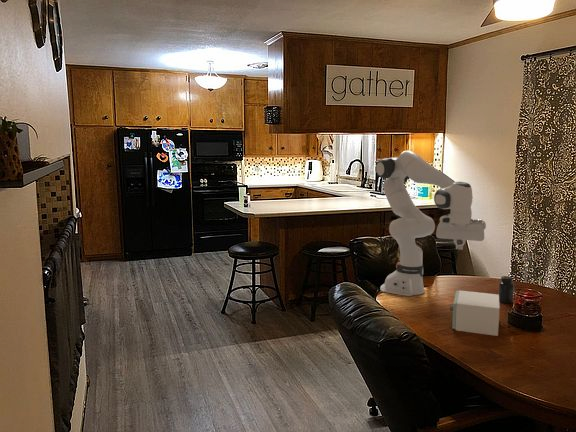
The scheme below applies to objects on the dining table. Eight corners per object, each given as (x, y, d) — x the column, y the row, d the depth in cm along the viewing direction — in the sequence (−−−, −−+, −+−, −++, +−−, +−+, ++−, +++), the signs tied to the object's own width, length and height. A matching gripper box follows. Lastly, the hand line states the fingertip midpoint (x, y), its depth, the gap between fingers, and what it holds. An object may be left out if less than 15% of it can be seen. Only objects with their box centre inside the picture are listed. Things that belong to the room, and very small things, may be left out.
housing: (455, 330, 194) (456, 303, 192) (458, 315, 210) (459, 290, 208) (497, 336, 187) (499, 308, 186) (497, 319, 204) (498, 294, 202)
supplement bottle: (510, 299, 230) (511, 275, 228) (515, 303, 223) (517, 279, 221) (495, 298, 230) (497, 275, 228) (500, 303, 224) (502, 279, 222)
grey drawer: (448, 328, 195) (449, 303, 193) (451, 313, 211) (452, 290, 209) (489, 333, 189) (491, 308, 187) (489, 317, 205) (491, 294, 203)
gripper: (486, 218, 207) (484, 249, 209) (437, 216, 215) (436, 246, 217) (486, 221, 201) (484, 252, 203) (436, 218, 209) (435, 249, 211)
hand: (459, 249), depth 210 cm, fingers closed
